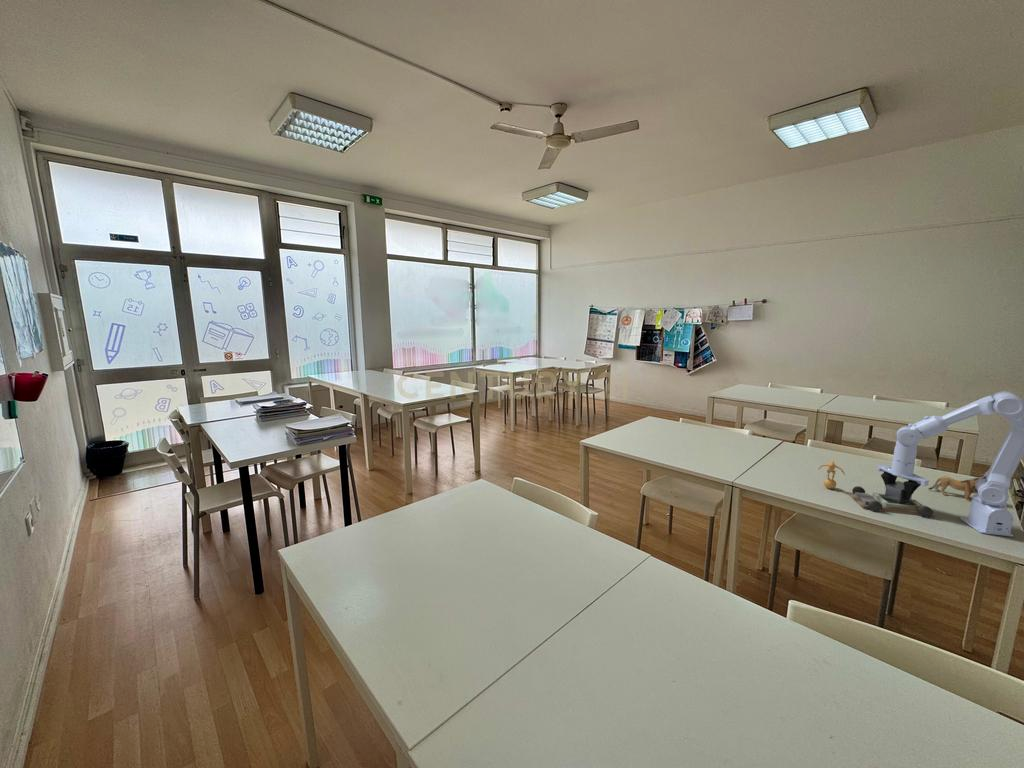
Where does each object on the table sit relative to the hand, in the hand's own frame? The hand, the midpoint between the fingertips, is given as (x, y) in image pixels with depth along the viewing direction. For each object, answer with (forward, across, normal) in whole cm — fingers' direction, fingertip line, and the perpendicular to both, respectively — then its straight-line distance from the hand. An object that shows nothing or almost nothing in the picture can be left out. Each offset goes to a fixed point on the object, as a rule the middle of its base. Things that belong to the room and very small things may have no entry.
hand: (897, 496), depth 148 cm
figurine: (+4, +18, +8) cm, 20 cm away
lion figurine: (+4, -2, -30) cm, 31 cm away
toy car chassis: (+4, +1, +2) cm, 4 cm away
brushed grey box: (+2, 0, 0) cm, 2 cm away
